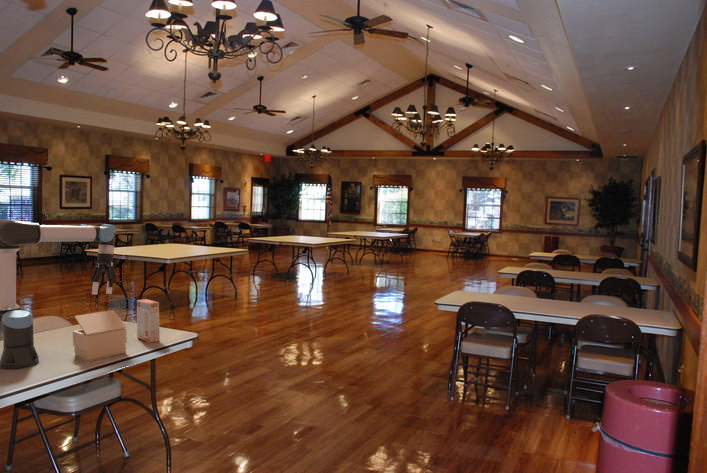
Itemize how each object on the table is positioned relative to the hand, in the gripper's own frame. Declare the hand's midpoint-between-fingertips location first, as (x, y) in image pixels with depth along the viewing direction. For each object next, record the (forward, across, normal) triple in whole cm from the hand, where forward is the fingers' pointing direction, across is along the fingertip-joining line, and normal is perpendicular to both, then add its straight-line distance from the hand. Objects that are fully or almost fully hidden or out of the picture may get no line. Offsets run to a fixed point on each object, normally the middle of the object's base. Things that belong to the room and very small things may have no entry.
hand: (101, 294), depth 286 cm
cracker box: (+23, -14, -20) cm, 34 cm away
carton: (+30, -19, +8) cm, 37 cm away
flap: (+15, -22, +12) cm, 29 cm away
